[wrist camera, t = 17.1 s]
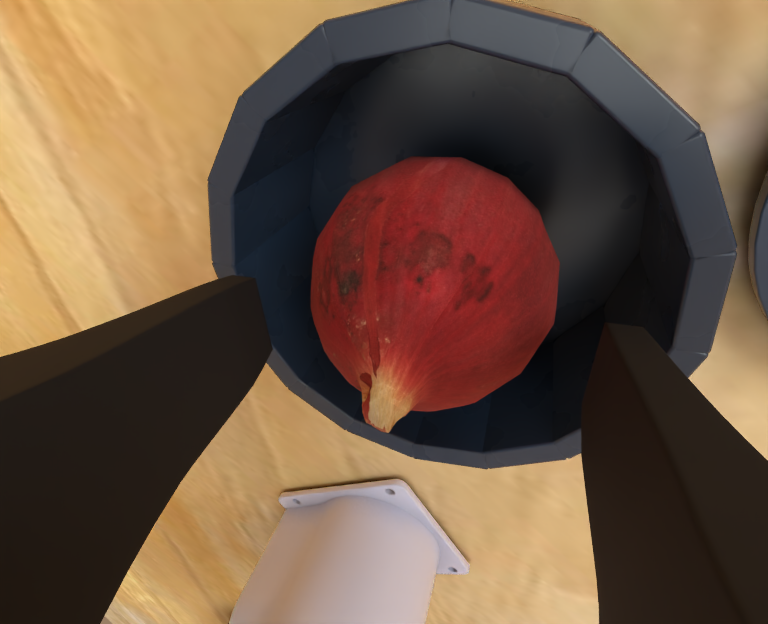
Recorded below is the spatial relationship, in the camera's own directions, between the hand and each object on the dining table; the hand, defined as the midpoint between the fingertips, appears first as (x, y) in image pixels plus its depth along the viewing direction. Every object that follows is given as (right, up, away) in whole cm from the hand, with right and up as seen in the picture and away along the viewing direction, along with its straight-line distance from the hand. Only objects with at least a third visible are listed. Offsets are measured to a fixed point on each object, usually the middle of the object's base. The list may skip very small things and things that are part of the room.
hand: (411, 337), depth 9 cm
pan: (+2, +4, +5) cm, 6 cm away
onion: (+2, +3, +5) cm, 6 cm away
